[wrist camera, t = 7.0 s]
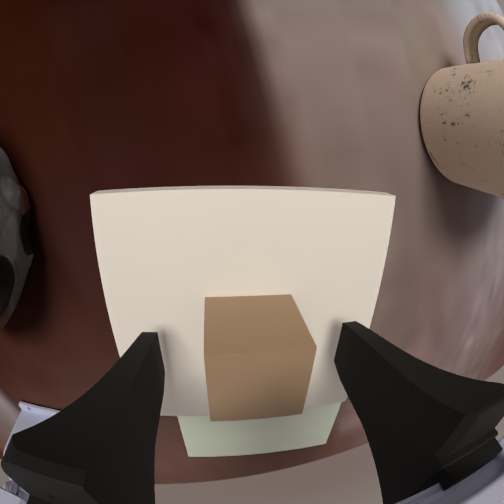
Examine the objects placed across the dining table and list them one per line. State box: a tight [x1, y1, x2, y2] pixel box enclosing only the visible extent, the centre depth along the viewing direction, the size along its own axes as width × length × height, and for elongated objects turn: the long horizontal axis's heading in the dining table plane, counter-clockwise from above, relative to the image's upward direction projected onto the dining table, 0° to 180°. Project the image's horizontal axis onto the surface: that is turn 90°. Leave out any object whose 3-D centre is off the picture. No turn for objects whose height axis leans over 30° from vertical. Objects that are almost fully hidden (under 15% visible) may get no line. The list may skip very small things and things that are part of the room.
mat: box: [178, 402, 341, 457], centre depth 22 cm, size 14×14×1 cm
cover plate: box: [90, 186, 396, 421], centre depth 11 cm, size 12×12×4 cm
